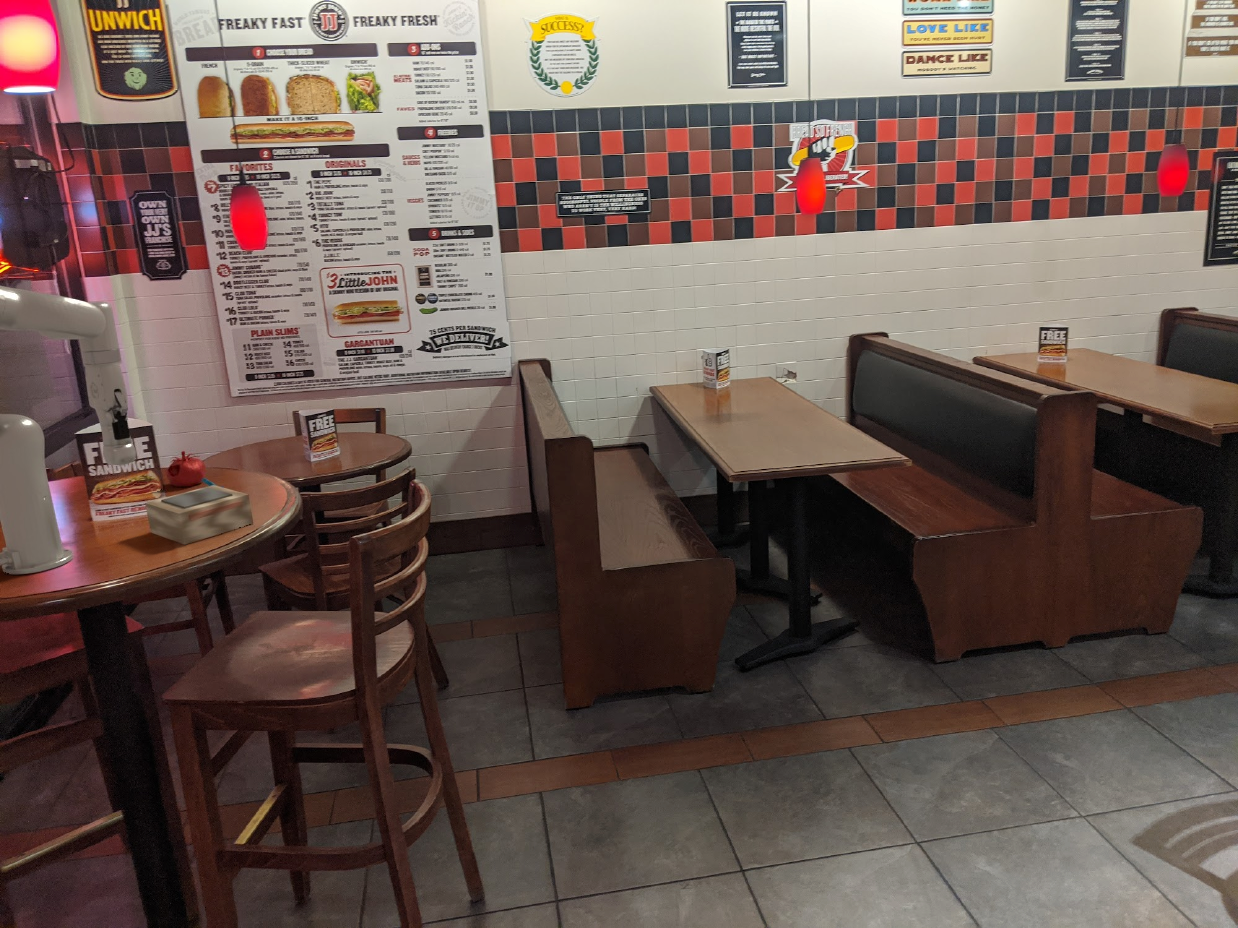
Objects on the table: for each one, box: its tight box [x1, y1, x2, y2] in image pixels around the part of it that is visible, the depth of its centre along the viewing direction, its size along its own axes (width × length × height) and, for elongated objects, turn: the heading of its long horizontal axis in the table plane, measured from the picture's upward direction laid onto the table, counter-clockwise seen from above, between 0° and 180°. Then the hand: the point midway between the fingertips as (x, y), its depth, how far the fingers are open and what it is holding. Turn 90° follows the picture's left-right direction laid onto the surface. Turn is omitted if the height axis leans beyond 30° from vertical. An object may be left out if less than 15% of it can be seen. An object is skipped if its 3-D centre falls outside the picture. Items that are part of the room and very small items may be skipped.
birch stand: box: [144, 484, 254, 545], centre depth 208 cm, size 16×16×7 cm
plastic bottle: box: [94, 398, 137, 466], centre depth 208 cm, size 6×7×20 cm
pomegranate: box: [165, 450, 207, 488], centre depth 248 cm, size 10×10×9 cm
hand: (116, 436), depth 209 cm, fingers closed on plastic bottle, 5 cm apart
